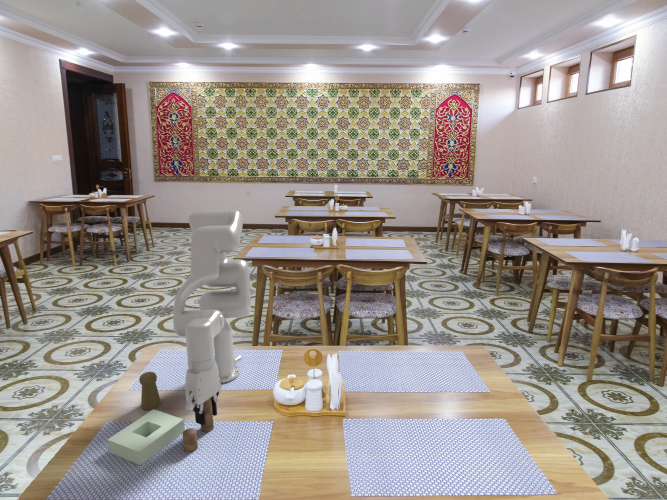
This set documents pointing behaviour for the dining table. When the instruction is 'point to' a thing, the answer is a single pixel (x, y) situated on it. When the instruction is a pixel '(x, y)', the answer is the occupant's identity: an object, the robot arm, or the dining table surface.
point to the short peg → (190, 440)
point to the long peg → (208, 416)
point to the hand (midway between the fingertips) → (206, 418)
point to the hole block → (142, 448)
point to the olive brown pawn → (149, 391)
